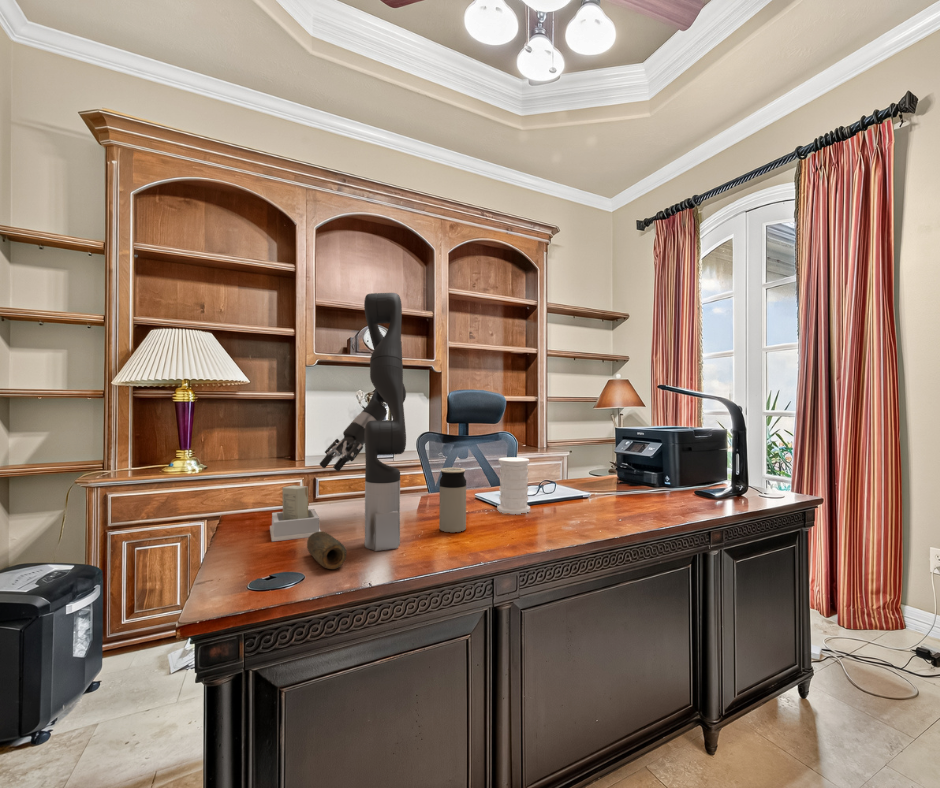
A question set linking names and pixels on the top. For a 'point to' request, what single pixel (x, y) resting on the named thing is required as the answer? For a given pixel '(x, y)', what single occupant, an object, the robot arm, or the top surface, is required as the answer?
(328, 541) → the brown hollow cylinder
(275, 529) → the bottle stand
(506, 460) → the decorative container
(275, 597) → the top surface
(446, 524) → the travel mug
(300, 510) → the skincare box
